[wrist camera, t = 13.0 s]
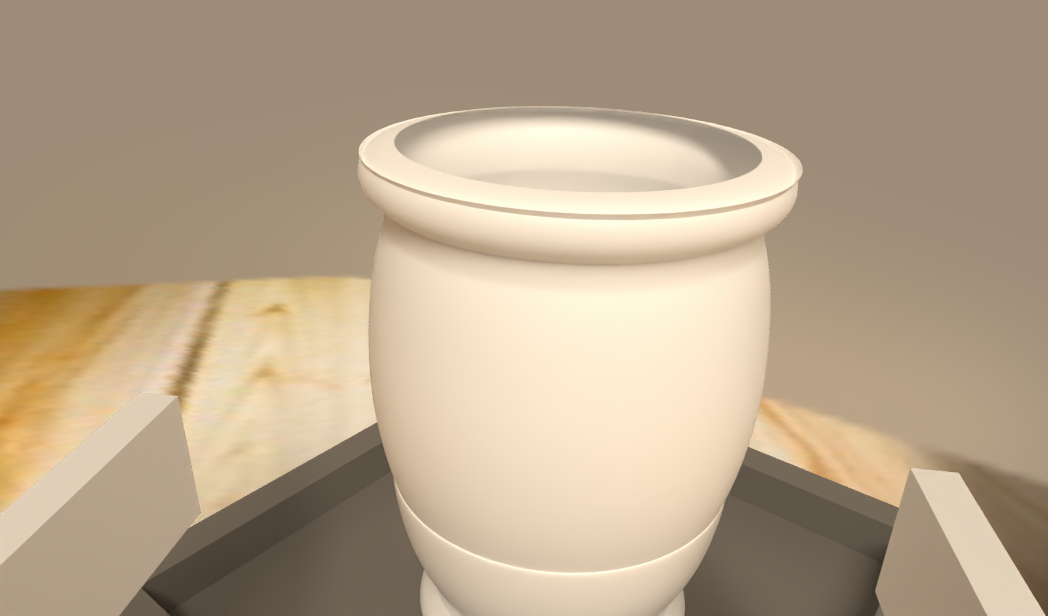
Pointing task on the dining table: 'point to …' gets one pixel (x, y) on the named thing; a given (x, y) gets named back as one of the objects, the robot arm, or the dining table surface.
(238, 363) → the dining table surface
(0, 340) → the dining table surface
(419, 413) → the jar
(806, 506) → the tray
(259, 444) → the dining table surface
